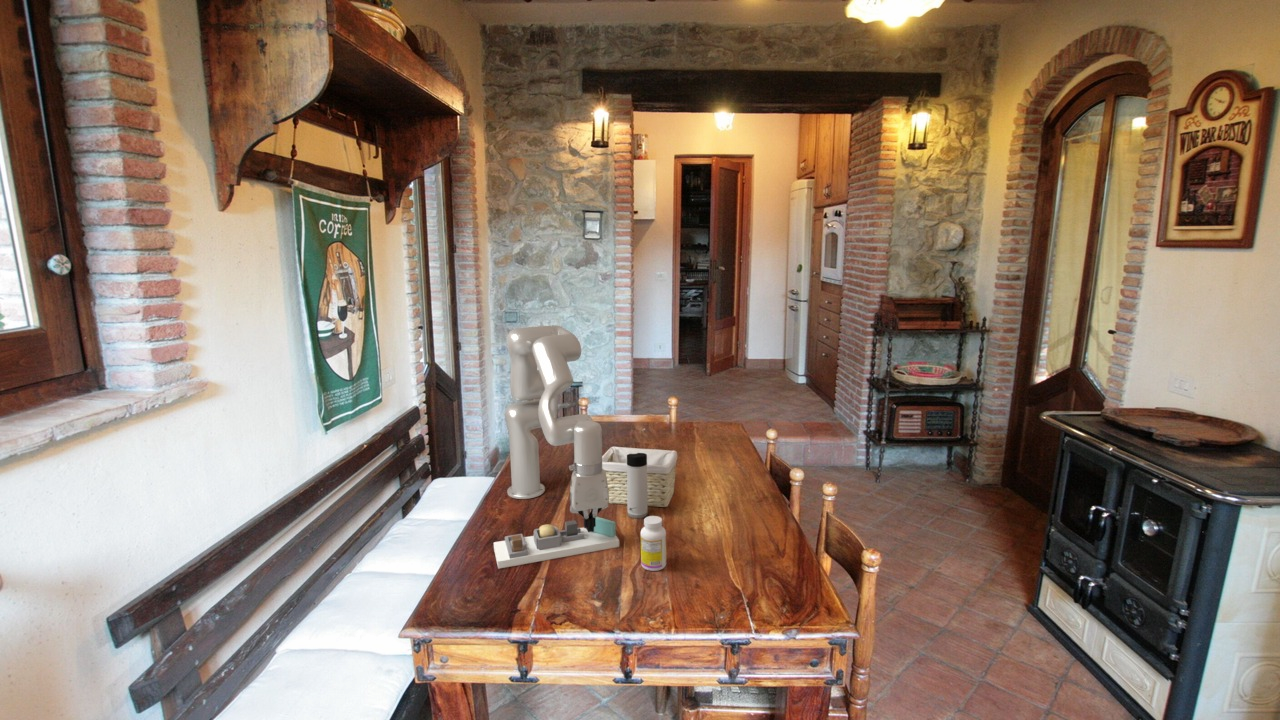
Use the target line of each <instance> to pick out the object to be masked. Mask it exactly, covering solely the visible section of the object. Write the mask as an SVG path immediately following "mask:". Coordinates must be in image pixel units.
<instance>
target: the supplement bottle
mask: <svg viewBox="0 0 1280 720" xmlns="http://www.w3.org/2000/svg"><path fill="white" fill-rule="evenodd" d="M662 525H663V518H662V517H660V516H657V515H649V516H648V515H647V516H645V517H644V519H643V527H642V528H641V529H640V564H641V567H642V568H643V569H645V570H647V571H651V572H657V571H660V570H661V571H662V570H663V569H664V568H665V567H666V565H667V530H666V529H665V528H664V526H662Z"/></svg>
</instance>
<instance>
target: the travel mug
mask: <svg viewBox="0 0 1280 720" xmlns="http://www.w3.org/2000/svg"><path fill="white" fill-rule="evenodd" d="M648 507H649V506H648V505H647V454H645V453H637V454H628V455H627V516H629V517H630V518H632V519H643V518H646V517H648V513H649V512H648Z"/></svg>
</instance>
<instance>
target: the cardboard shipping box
mask: <svg viewBox="0 0 1280 720" xmlns="http://www.w3.org/2000/svg"><path fill="white" fill-rule="evenodd" d="M519 534H520V535H517V534H513V535H514V536H512V550H513V552H517V551H523V544H522V537H521V534H522V533H519Z"/></svg>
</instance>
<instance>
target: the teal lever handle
mask: <svg viewBox="0 0 1280 720" xmlns="http://www.w3.org/2000/svg"><path fill="white" fill-rule="evenodd" d="M590 532H592V531H590ZM593 532H597V533H600V534H603V535H607V536H610V537H614V536H615V535H616V521H613V520H610V519H607V518H602V517H599V516H597V517H596V527H594V531H593ZM616 536H617V535H616Z"/></svg>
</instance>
